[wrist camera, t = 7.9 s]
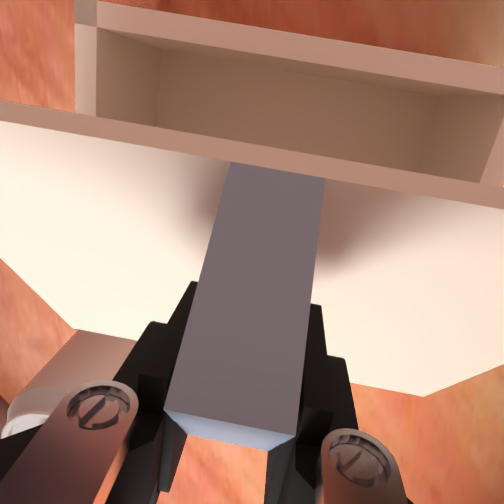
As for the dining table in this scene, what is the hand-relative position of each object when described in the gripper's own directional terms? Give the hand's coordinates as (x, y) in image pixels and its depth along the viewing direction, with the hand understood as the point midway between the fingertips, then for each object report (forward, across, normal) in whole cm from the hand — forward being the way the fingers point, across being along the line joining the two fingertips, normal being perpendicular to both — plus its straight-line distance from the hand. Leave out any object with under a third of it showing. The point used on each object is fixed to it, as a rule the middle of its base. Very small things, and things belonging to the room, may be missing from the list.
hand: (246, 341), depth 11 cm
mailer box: (+20, 0, -1) cm, 20 cm away
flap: (+5, 0, +1) cm, 5 cm away
